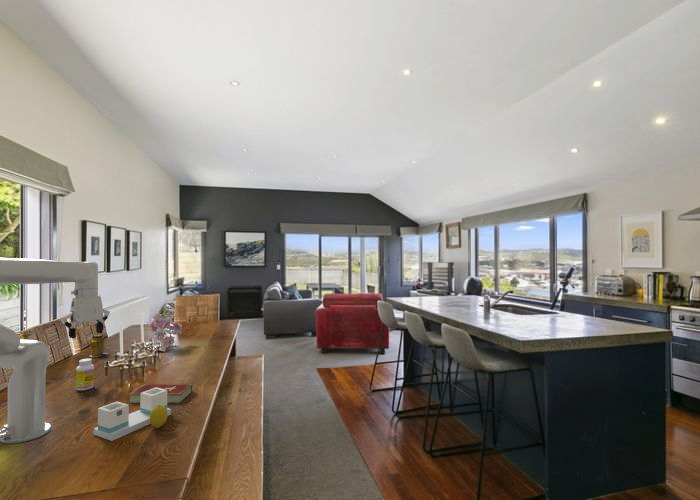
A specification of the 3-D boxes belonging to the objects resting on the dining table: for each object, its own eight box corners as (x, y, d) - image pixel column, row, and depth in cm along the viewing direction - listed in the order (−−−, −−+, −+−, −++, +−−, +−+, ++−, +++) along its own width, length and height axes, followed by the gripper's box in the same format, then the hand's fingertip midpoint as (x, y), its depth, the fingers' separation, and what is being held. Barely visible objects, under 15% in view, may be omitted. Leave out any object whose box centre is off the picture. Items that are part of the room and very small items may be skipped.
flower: (194, 346, 233) (188, 309, 241) (161, 350, 214) (154, 310, 222) (176, 355, 242) (170, 320, 250) (142, 360, 223) (137, 321, 231)
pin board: (111, 441, 118) (112, 419, 118) (93, 434, 122) (93, 413, 123) (171, 414, 138) (171, 395, 138) (153, 409, 142) (153, 391, 142)
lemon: (163, 422, 131) (163, 400, 131) (170, 427, 128) (170, 404, 128) (146, 428, 127) (147, 405, 127) (153, 433, 123) (153, 409, 123)
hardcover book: (144, 392, 160) (144, 383, 160) (192, 392, 161) (192, 383, 161) (128, 404, 148) (128, 393, 148) (180, 403, 149) (180, 393, 149)
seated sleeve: (151, 415, 133) (151, 395, 133) (140, 411, 135) (140, 392, 136) (167, 408, 138) (167, 390, 139) (155, 405, 141) (156, 387, 141)
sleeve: (97, 429, 122) (97, 408, 122) (116, 421, 128) (117, 401, 128) (109, 433, 119) (110, 412, 119) (128, 425, 125) (129, 404, 125)
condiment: (87, 356, 215) (87, 336, 215) (101, 352, 223) (101, 333, 223) (96, 357, 212) (96, 337, 212) (110, 353, 220) (110, 334, 220)
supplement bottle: (84, 391, 160) (84, 362, 160) (71, 390, 161) (72, 361, 161) (97, 386, 167) (97, 358, 167) (85, 385, 168) (85, 357, 168)
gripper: (66, 295, 136) (66, 341, 136) (114, 291, 151) (114, 332, 151) (56, 294, 139) (56, 339, 139) (104, 290, 154) (103, 330, 154)
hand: (86, 335), depth 145 cm, fingers open, 9 cm apart
